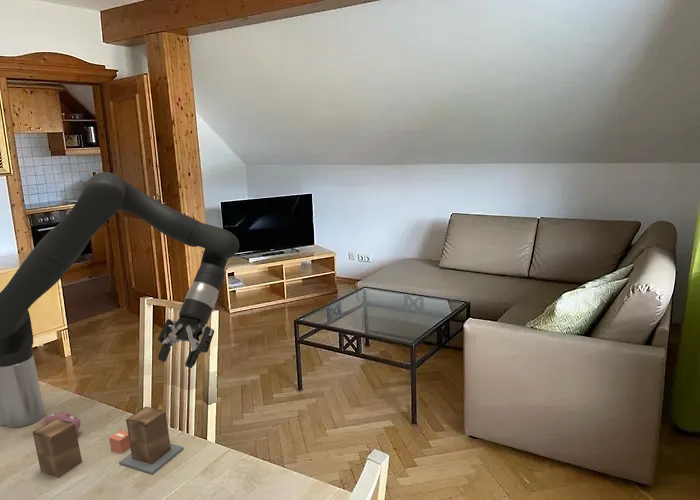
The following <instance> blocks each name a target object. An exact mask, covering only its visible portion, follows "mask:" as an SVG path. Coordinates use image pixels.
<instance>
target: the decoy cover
mask: <svg viewBox="0 0 700 500" xmlns="http://www.w3.org/2000/svg"><path fill="white" fill-rule="evenodd" d="M41 426H42V425H41ZM41 426H40V427H39V428H37V429H35V430H34V431H32V436H33V440H34V446H35V449H36V455H37V460H38V463H39V469H40V472H42V473H43V474H44V473H45V474H47V475H51V476H53V477H57V478H60V477H62V476H63V475H65V474H66V473H68V472H69V471H71V470H72V469H74V468H75V467H77V466H78V465H80V464H81V463H83V459H82V455H81V450H80V444H79V438H78V431H77V432H76V427H75V423H72V422H69V421H65V420H62V419H58V418H56V419H54V420H52V421H51V422H49V423H47V424H45V425H44V426H42V427H41Z"/></svg>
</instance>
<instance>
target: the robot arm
mask: <svg viewBox="0 0 700 500" xmlns="http://www.w3.org/2000/svg"><path fill="white" fill-rule="evenodd" d="M119 211H123V212H126V213H129V214H131V215H134V216H136V217H137V218H140V219H141V220H143V221H144V222H145V223H147V224H148V225H150V226H151V227H153V228H154V229H155V230H157V231H158V232H160V233H161V234H162V235H163V234H164V235H165V236H167V237H168V238H170V239H173V240H174V241H177V242H179V243H182V244H183V245H186V246H188V247H191V248H192V247H193V248H195V247H200V248H203V249H204V250H203V254H202V257H201V261H200V265H199V268H198V270H197V272H196V274H195V277H194V279H193V282H192V283H191V286H190V287H189V289H188V290H187V292H186V293H187V294H186V296H185V297H184V300H183V303H182V305H181V307H180V309H179V313H178V319H177V320H176V321H174V320H171V319H170V318H168V319H166V320H165V322H164V325H163V326H162V327H163V328H162V329H161V332H160V333H159V335H158V338H157V341H158V342H160V343H161V344H162V345H161V348H160V350H159V353H158V355H157V359H158V360H159V361H160V362H162V363H165V362H167V359H168V357H169V354H170V352H171V348H172V347H173V346H174V345H175V344H176V343H177V344H178V343H179V342H188V343H189V344H190V347H191V350H189V353H188V356H187V358H186V361H185V362H184V366H185V367H187V368H189V369H192V368H193V367H194V366H195V365H196V363H197V360H198V358H199V355H200V354H202V353H205V354H206V353H208V352H209V349H210V346H211V343H212V341H213V338H214V334H215V330H214V329H213V328H212V327H210V326H209V325H207V324H208V323H209V320H210V318H211V315H212V313H213V310H214V309H215V305H216V303H217V300H218V296H219V293H220V290H221V288H222V285H223V282H224V280H225V268H226V266H227V263H228V260H229V259H230V258H232V257H233V256H235V255H236V254H237V253H238V251H239V249H240V241H239V239H238V238H237V236H236V235H235V234H233V233H232V232H231V231H230V230H227V229H224V228H222V227H219V226H216V225H212V224H207V223H204V222H201V221H199V220H197V219H195V218H194V217H191V216H189V215H186V214H184V213H183V212H181V211H178V210H176V209H174V208H172V207H170V206H168V205H165V204H164V203H162V202H160V201H158V200H157V199H155V198H153V197H151V196H149V195H148V194H146V193H145V192H143V191H141V190H139V189H138V188H137V187H135V186H134V185H132V184H130V183H129V182H127V181H126V180H125V179H123V178H122V177H120V176H118V175H117V174H115V173H113V172H109V171H102V172H98V173H96V174H94V175H93V176H92V177H91V178H90V179H89V180H88V182H87V184H85V187H84V188H83V191H82V192H81V194H80V196H79V198H78V199H77V201H76V202H75V204H74V205H73V207H72V208H71V209H70V211H69V212H68V214H67V215H66V216H65V217H64V218H63V219H62V220H61V221H60V222H59V223H57V225H55V226H54V227H53V228H51V229H50V230H49V231H48V232H47V233H46V234H45V235H44V236H43V237H42V238H41V239H40V240H39V242H38V243H37V244H36V245H35V247H34V248H33V249H32V250H31V251H30V253H29V254H28V255H27V257H26V258H25V259H24V261H23V262H22V263H21V265H20V266H19V267H18V269H17V270H16V271H15V273H14V274H13V276H12V277H11V279H10V280H9V282H8V283H7V284H6V286H4V288H3V289H2V290H1V291H0V423H1V426H2V427H8V428H14V429H15V428H16V429H17V428H21V427H25V426H29V425H32V424H34V423H36V422H38V421H40V420H41V419H43V418H44V416H45V405H44V402H43V396H42V392H41V387H40V382H39V377H38V373H37V367H36V362H35V358H34V352H33V345H34V334H33V333H34V332H33V327H32V321H31V320H32V319H31V315H30V311H29V309H30V307H31V306H32V305H33V304H35V302H36V301H38V300H39V298H41V297H42V296H43V295H44V294H46V293H47V292H48V291H49V290H50V289H51V288H52V287H54V286H55V285H56V284H57V283H58V282H59V281H60V280H61V279H62V278H63V276H65V274H66V273H67V272H68V271H70V268H71V267H73V265H74V263H75V262H76V261H77V260H78V258H79V257H80V255H81V254H82V253H83V252H84V250H85V248H86V247H87V245H88V243H89V242H90V240H92V239H91V238H92V237H93V236H94V235H95V234H96V233H97V232H98V231H99V230H100V229H101V228H102V226H104V225H105V224H106V223H107V222H108V221H109V220H110V219H111V218H112V217H114V215H115V214H116V213H118V212H119ZM206 325H207V326H206ZM201 335H202V337H200V336H201Z"/></svg>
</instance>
